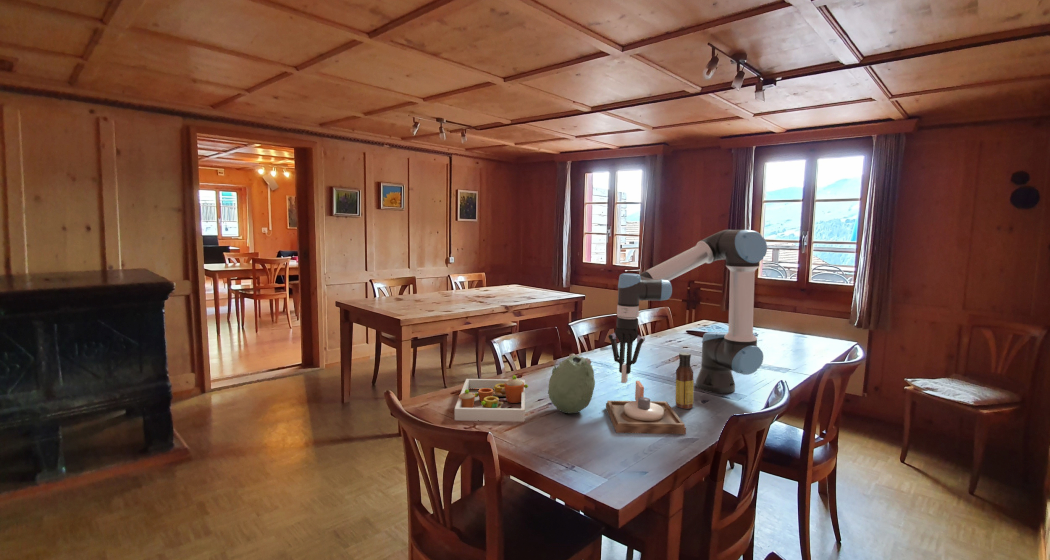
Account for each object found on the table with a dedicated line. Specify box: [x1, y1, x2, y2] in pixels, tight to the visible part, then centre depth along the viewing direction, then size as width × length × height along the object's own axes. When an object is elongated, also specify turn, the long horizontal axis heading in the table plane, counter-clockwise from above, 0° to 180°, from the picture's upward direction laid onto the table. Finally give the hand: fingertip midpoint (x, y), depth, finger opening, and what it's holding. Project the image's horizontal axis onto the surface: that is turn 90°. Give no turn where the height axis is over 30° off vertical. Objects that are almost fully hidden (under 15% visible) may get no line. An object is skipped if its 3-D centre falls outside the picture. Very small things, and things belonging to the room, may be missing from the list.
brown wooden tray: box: [605, 400, 687, 435], centre depth 173 cm, size 22×22×3 cm
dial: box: [624, 380, 664, 421], centre depth 175 cm, size 18×13×8 cm
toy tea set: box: [458, 375, 529, 408], centre depth 186 cm, size 26×16×10 cm, turn 138°
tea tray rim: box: [454, 378, 526, 422], centre depth 187 cm, size 23×33×4 cm
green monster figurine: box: [547, 353, 596, 414], centre depth 179 cm, size 16×19×20 cm
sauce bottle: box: [675, 352, 695, 410], centre depth 186 cm, size 7×6×20 cm
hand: (624, 381), depth 183 cm, fingers closed
